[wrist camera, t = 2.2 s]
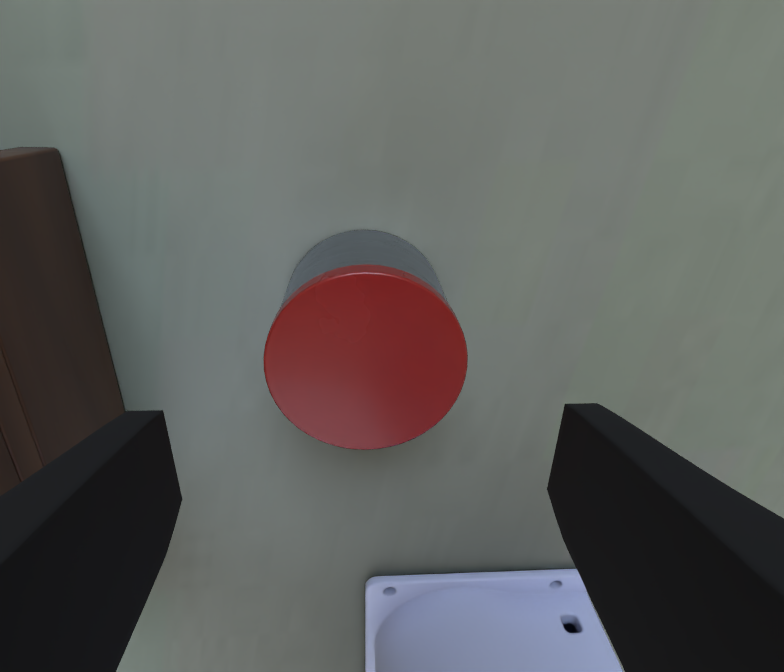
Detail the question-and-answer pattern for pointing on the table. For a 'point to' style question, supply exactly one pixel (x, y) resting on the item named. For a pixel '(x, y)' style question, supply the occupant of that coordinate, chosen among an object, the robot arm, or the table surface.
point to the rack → (46, 321)
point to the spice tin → (365, 343)
